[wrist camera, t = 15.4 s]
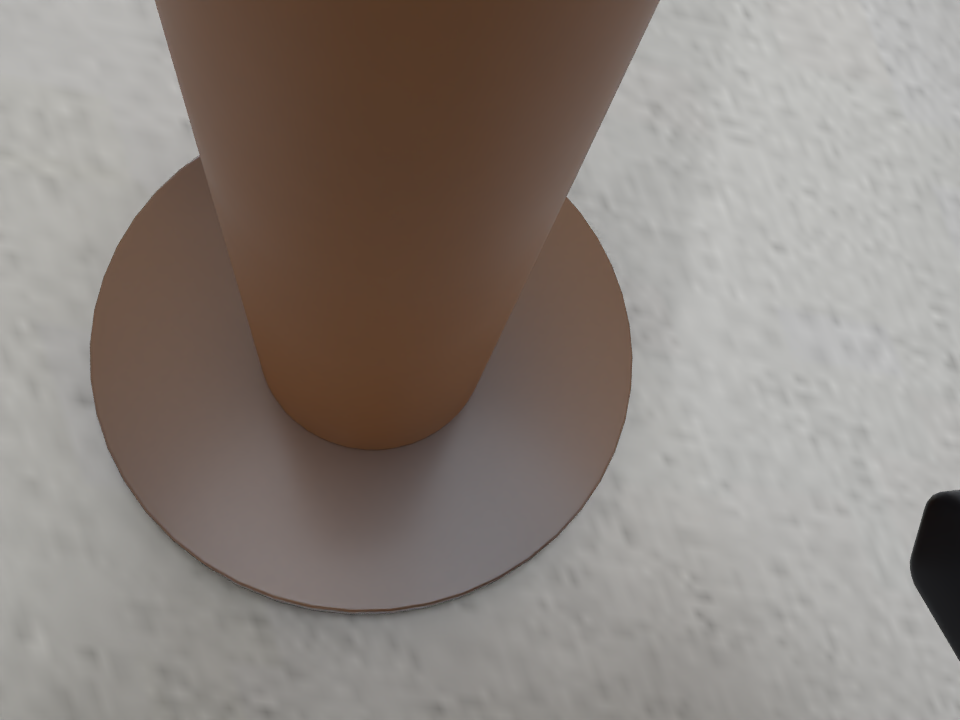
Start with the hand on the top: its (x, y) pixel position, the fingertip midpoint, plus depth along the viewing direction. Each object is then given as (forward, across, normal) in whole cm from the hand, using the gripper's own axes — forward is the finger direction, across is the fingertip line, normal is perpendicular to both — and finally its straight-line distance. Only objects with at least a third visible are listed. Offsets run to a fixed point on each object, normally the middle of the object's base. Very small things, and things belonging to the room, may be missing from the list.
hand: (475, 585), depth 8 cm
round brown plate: (+12, 0, +3) cm, 13 cm away
